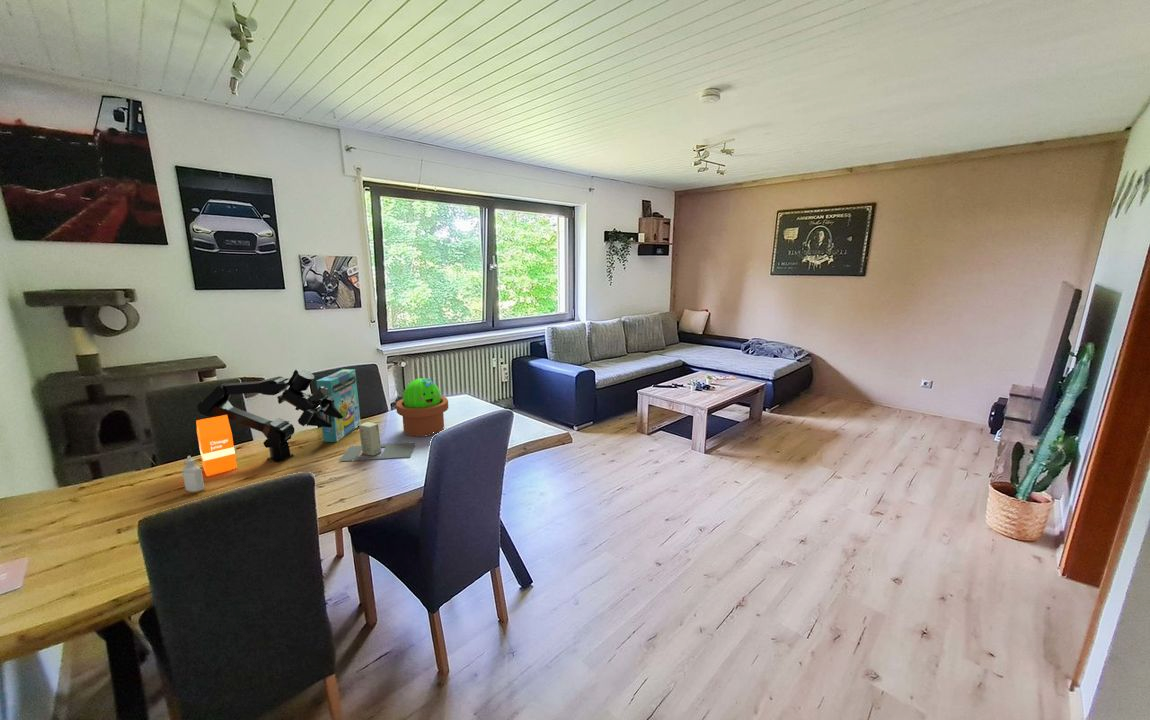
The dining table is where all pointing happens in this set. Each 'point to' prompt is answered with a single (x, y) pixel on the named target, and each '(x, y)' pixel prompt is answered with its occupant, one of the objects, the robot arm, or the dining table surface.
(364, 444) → the skincare box
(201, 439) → the orange juice
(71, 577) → the dining table surface
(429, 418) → the potted cactus
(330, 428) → the game box
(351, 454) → the flat grey rectangular plate
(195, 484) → the eye dropper bottle
